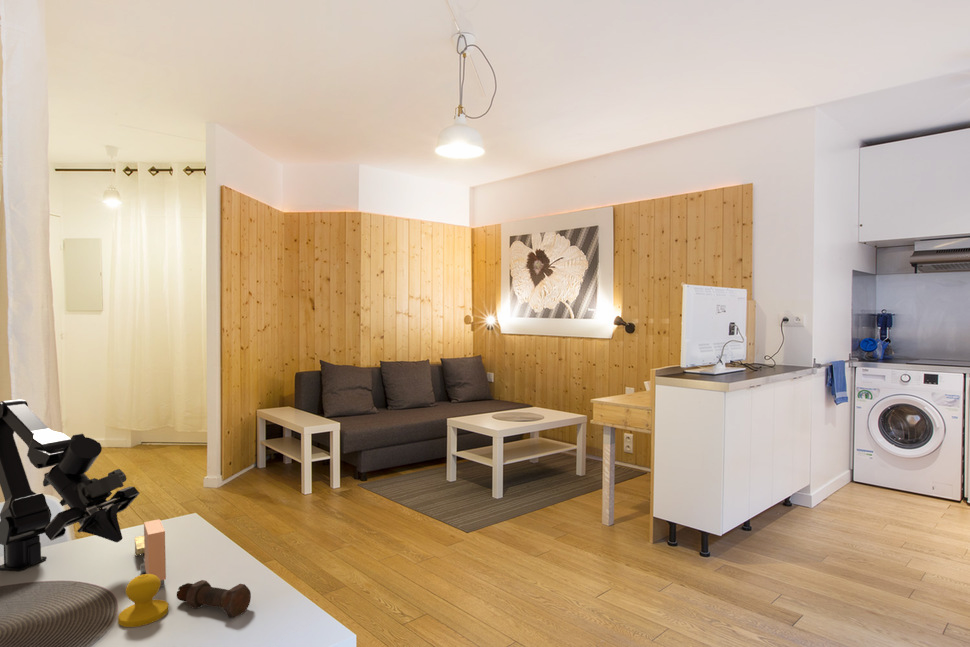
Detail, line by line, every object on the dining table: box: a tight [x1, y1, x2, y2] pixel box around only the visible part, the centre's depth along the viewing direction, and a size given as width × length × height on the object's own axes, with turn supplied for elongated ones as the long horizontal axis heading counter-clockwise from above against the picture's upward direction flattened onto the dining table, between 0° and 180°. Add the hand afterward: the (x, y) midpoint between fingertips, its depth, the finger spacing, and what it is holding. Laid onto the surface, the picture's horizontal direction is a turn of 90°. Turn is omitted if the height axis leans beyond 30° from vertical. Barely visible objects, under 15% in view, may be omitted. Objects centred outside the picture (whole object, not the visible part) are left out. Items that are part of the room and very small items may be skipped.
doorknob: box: [117, 573, 170, 628], centre depth 103 cm, size 8×8×8 cm
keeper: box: [134, 534, 145, 556], centre depth 131 cm, size 9×5×4 cm, turn 35°
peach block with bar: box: [139, 518, 167, 588], centre depth 122 cm, size 4×22×11 cm, turn 36°
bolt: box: [176, 579, 252, 619], centre depth 106 cm, size 6×5×15 cm
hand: (119, 540), depth 117 cm, fingers closed
